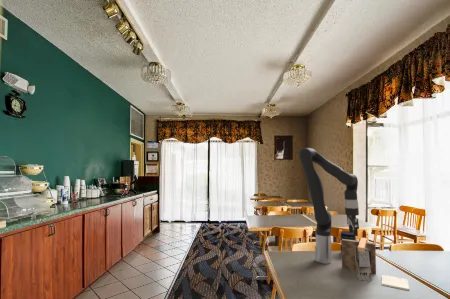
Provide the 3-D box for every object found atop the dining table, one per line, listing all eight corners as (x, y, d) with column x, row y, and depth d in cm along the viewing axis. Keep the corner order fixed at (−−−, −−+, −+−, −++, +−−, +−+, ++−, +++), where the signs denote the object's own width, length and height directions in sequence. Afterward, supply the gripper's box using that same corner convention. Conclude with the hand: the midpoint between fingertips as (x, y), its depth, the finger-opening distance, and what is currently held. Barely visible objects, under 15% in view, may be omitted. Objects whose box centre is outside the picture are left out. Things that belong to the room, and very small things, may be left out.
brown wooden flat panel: (342, 268, 165) (341, 239, 166) (342, 266, 167) (342, 238, 169) (375, 274, 156) (375, 244, 157) (376, 272, 158) (375, 243, 159)
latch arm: (357, 251, 143) (357, 247, 143) (361, 240, 164) (361, 237, 164) (364, 251, 142) (364, 248, 142) (366, 241, 162) (366, 238, 162)
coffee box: (372, 281, 146) (371, 250, 147) (359, 280, 148) (358, 249, 149) (366, 274, 155) (366, 246, 156) (354, 273, 157) (354, 245, 158)
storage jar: (355, 253, 195) (355, 232, 196) (356, 257, 186) (355, 235, 187) (340, 251, 199) (340, 230, 200) (340, 255, 190) (340, 233, 191)
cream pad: (381, 285, 142) (381, 283, 142) (381, 276, 154) (381, 274, 154) (409, 290, 136) (409, 289, 136) (407, 280, 148) (407, 279, 148)
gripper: (341, 205, 172) (343, 231, 171) (348, 208, 158) (350, 237, 157) (354, 205, 171) (356, 231, 170) (362, 208, 157) (364, 237, 156)
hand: (353, 234), depth 163 cm, fingers open, 8 cm apart
